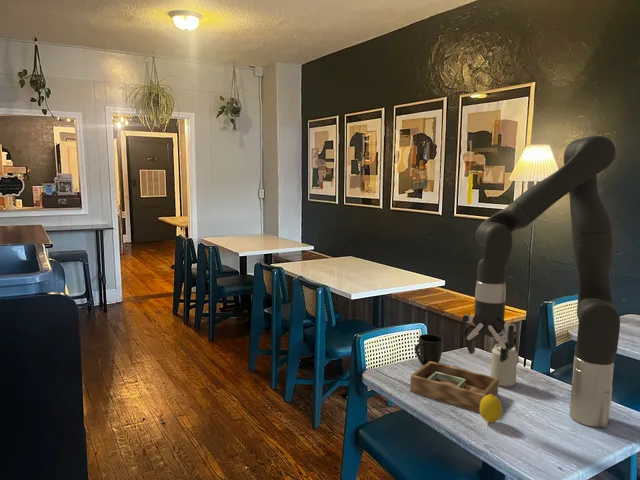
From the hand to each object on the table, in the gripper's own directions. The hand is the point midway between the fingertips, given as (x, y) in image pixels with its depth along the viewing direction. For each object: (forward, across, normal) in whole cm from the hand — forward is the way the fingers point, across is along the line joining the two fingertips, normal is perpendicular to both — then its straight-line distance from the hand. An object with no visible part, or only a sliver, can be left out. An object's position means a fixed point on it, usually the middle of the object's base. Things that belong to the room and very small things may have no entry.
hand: (486, 356), depth 127 cm
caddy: (+17, +13, -8) cm, 23 cm away
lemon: (+17, -2, +2) cm, 18 cm away
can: (+18, +4, -25) cm, 31 cm away
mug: (+17, +29, -20) cm, 39 cm away
